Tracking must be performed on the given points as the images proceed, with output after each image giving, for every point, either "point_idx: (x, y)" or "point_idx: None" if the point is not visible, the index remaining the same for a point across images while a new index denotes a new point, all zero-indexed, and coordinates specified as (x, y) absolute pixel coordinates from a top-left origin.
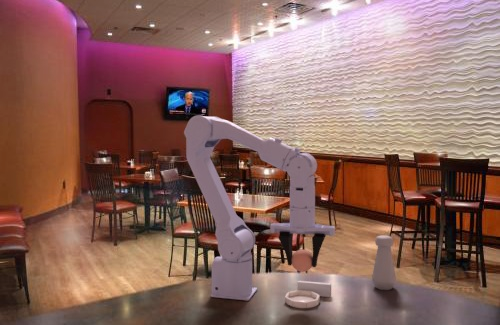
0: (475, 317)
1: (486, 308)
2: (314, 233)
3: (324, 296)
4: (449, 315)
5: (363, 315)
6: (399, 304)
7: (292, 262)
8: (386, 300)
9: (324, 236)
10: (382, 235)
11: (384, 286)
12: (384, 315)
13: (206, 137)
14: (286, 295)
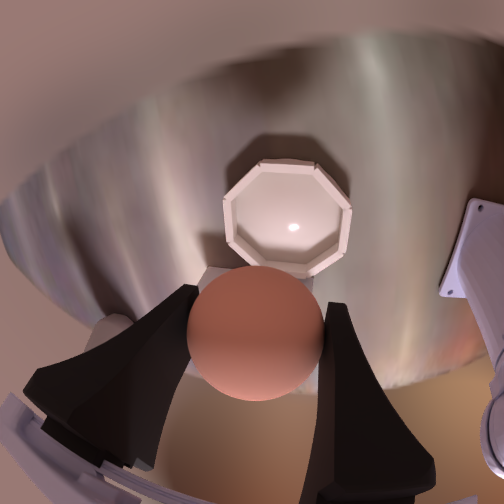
0: (3, 214)
1: (9, 249)
2: (93, 464)
3: (226, 268)
4: (18, 211)
5: (103, 158)
6: (72, 244)
7: (316, 308)
8: (95, 262)
9: (49, 417)
10: None
11: (113, 317)
12: (72, 175)
13: None
14: (346, 222)
